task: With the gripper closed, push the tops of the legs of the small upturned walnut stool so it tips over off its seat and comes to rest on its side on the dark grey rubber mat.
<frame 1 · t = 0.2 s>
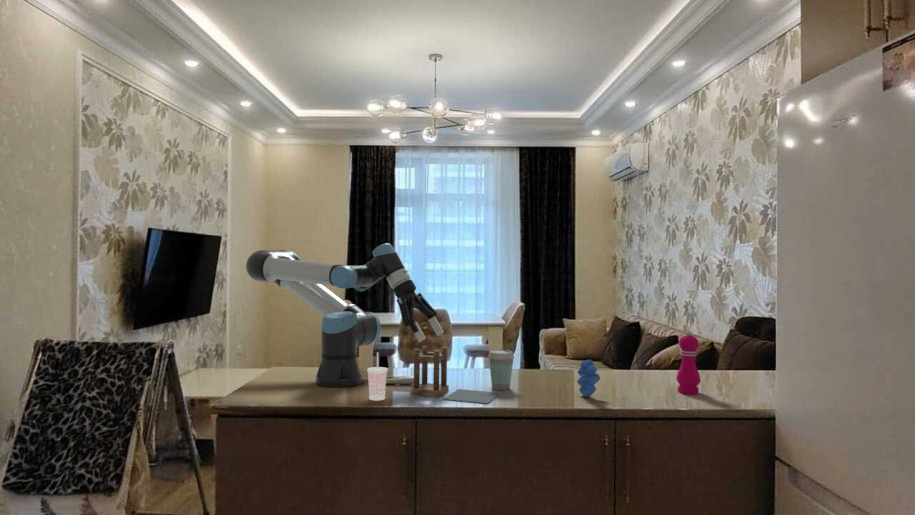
hand: (431, 337, 201), 15 cm above the counter, tool tilted 35°, fingers open, 13 cm apart
coffee cup: (500, 388, 194), on the counter
stool: (430, 393, 186), on the counter
mat: (472, 396, 181), on the counter
grapes: (590, 398, 182), on the counter
beverage cup: (377, 399, 177), on the counter
pepper mill: (688, 393, 191), on the counter
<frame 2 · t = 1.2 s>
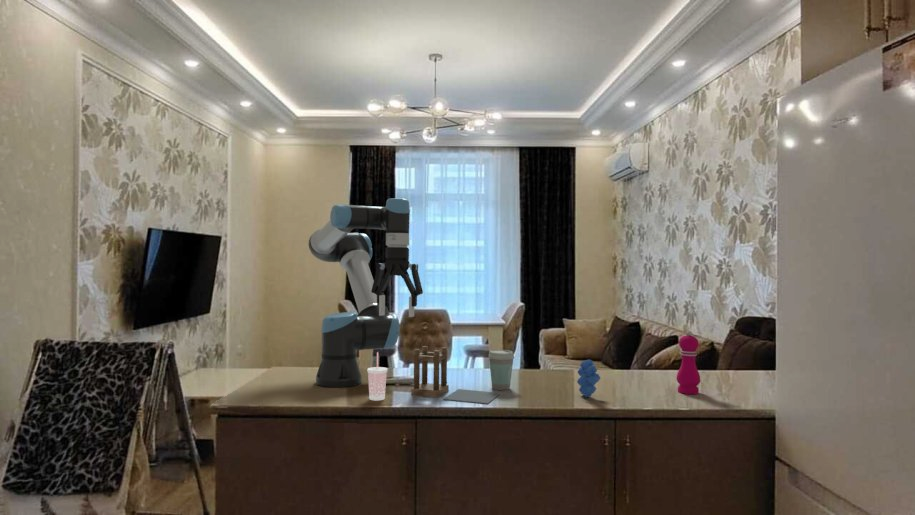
hand: (396, 316, 190), 24 cm above the counter, tool pointing down, fingers open, 10 cm apart
nothing on the counter moved.
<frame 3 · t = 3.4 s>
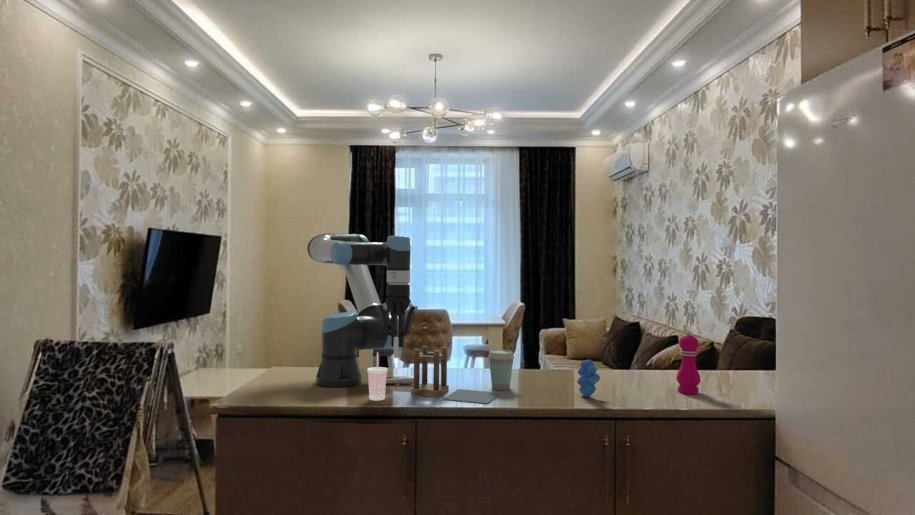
hand: (397, 357, 189), 10 cm above the counter, tool pointing down, fingers closed
nothing on the counter moved.
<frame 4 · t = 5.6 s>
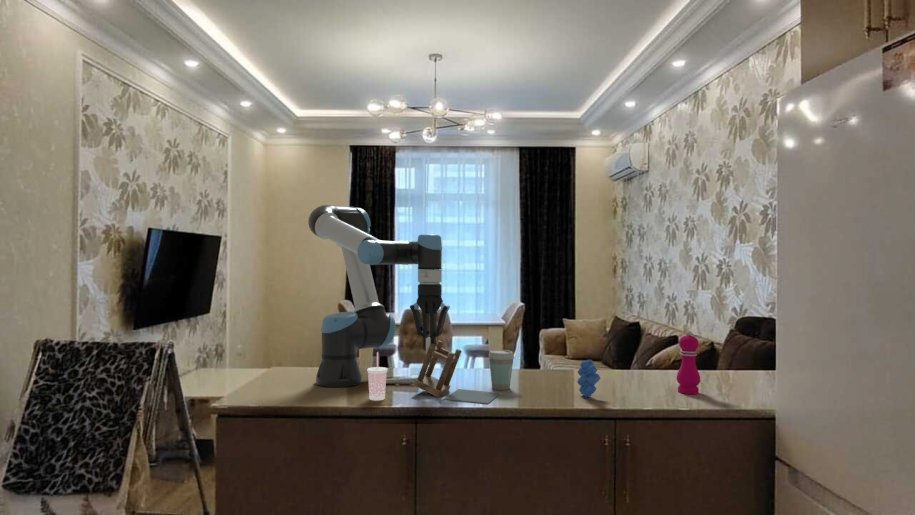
hand: (429, 358, 186), 11 cm above the counter, tool pointing down, fingers closed
stool: (431, 388, 186), point 2 cm above the counter, tilted 21°, touching gripper
everything else where it was.
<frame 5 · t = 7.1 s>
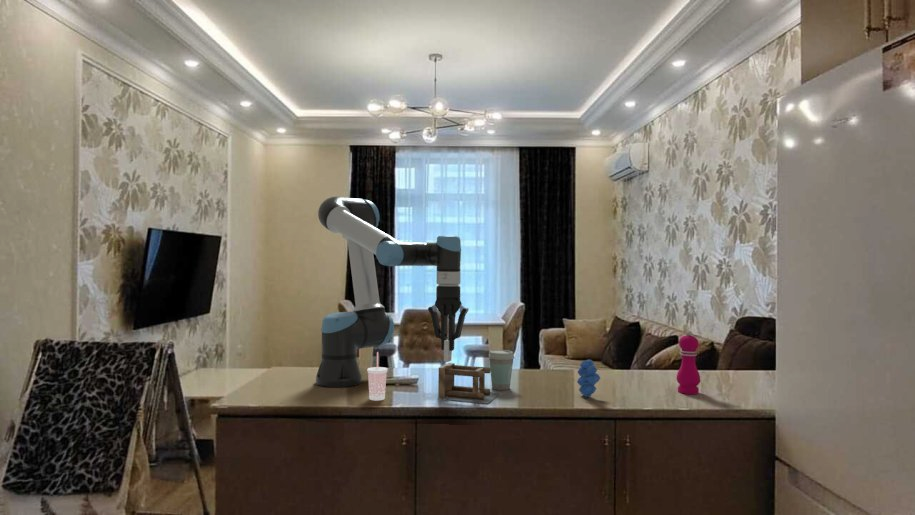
hand: (447, 360, 184), 10 cm above the counter, tool pointing down, fingers closed
stool: (443, 379, 184), point 4 cm above the counter, tilted 90°, touching mat
everything else where it was.
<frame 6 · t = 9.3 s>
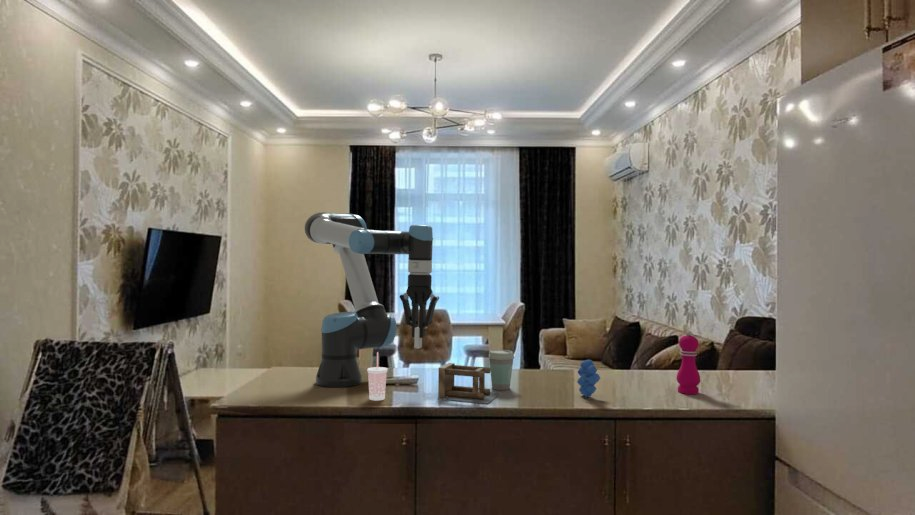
hand: (418, 347, 187), 14 cm above the counter, tool pointing down, fingers closed
nothing on the counter moved.
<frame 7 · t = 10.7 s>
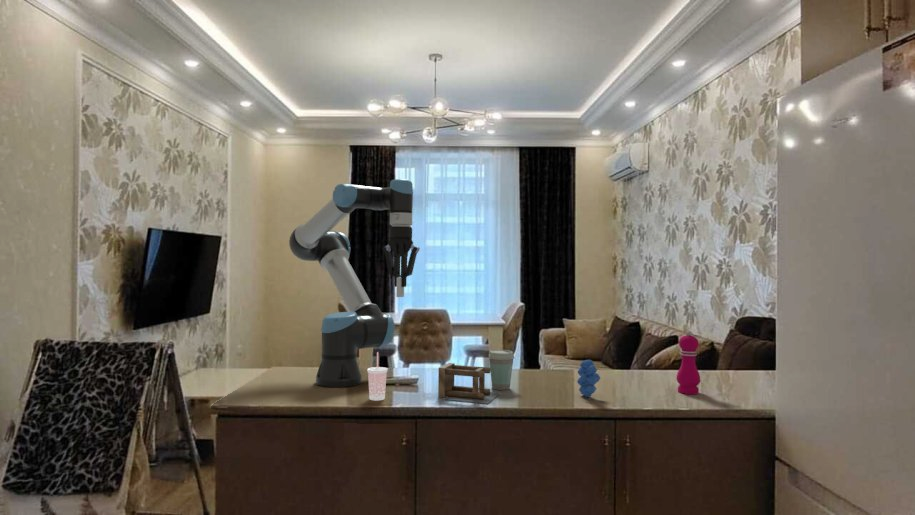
hand: (400, 296, 197), 29 cm above the counter, tool pointing down, fingers closed
nothing on the counter moved.
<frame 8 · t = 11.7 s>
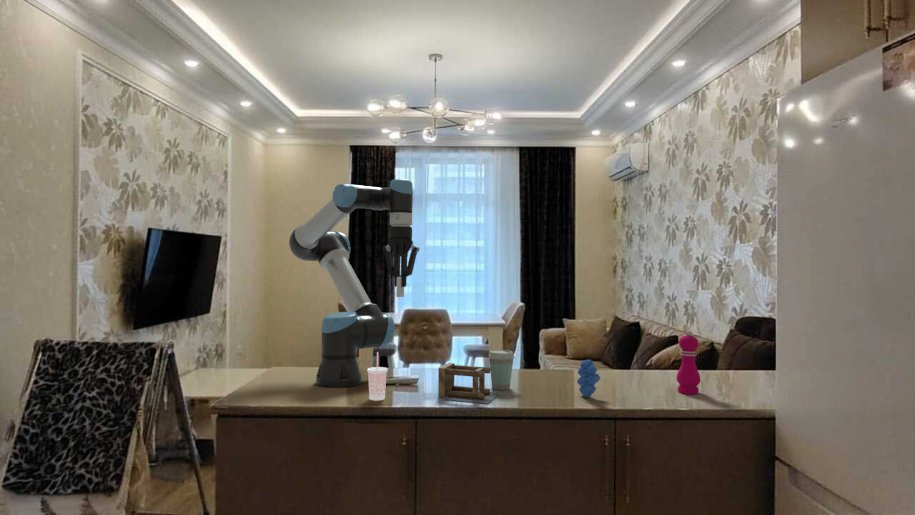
hand: (400, 296, 197), 29 cm above the counter, tool pointing down, fingers closed
nothing on the counter moved.
at the end: stool tilted 90°; stool inside the target area (9.1 cm from its centre), point 4.5 cm above the counter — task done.
